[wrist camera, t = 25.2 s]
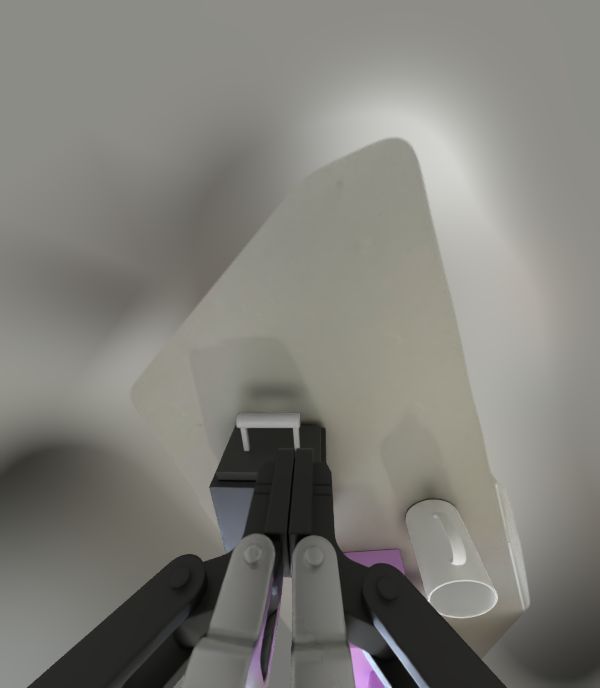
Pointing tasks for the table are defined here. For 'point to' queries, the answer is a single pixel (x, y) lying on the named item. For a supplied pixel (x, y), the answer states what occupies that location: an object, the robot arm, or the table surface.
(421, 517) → the mug
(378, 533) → the table surface
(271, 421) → the drawer
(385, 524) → the table surface
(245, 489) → the cabinet
